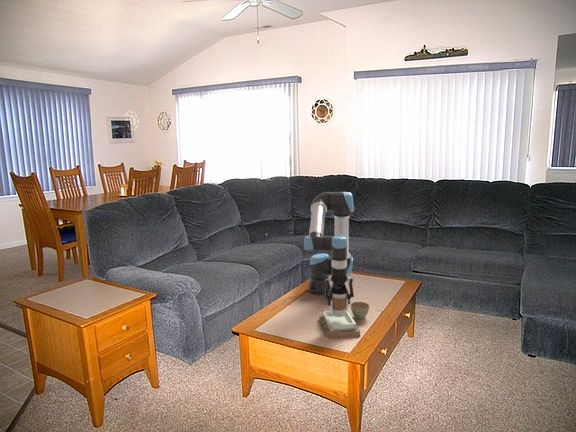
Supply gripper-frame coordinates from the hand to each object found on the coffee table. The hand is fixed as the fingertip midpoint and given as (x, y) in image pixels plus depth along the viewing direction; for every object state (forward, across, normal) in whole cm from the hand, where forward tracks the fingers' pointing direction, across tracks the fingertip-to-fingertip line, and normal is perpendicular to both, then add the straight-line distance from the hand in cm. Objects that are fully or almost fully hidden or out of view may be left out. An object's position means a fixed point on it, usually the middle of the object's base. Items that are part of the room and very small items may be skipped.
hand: (338, 310), depth 215 cm
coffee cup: (+2, 0, 0) cm, 2 cm away
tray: (+7, 0, 0) cm, 7 cm away
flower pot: (+9, +14, +10) cm, 20 cm away
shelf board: (+9, 0, 0) cm, 9 cm away
